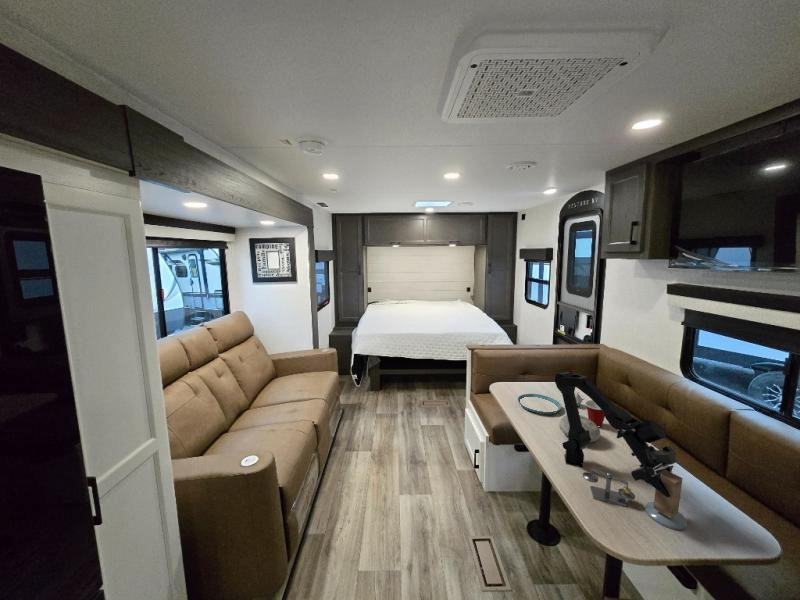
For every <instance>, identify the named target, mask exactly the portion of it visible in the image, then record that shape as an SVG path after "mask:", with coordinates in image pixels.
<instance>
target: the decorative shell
mask: <svg viewBox="0 0 800 600" xmlns="http://www.w3.org/2000/svg"><path fill="white" fill-rule="evenodd" d="M579 415H580V414H579ZM580 419H581V423H582V427H583V428H584V429H585V430H588V431H589V433H590V438H591V441H590V442H591V443H593V442H596V441H598V440H599V439H600V437H601V429H600V428H599V427H598V426H597V425H596V424H595V423H594V422H592V421H591V420H589V418H588V417H586V416H584V415H582V414H581V415H580ZM558 427H559V429H560V431H561V432H562V433H563V434H565V436H567V437H568V432H569V428H570V426H569V422H568V417H567V414H565V415H564V416H562V418H560V421H559V425H558Z"/></svg>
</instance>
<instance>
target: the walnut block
mask: <svg viewBox="0 0 800 600" xmlns="http://www.w3.org/2000/svg"><path fill="white" fill-rule="evenodd" d="M659 473H660V480H661V481H662V483H663V485H664V486H665V488H666V489H667V491H668V493H669V495H670V497H666V496H665V495H663V494H662V493H661V492H659V491H658V490H657V489H655V488H654V489H655V491H654V498H653V499H654V500H653V502H654V506H653V508H654V509H656V510H657V511H659V512H661V513H662V514H664V515H666V516H667V517H669V518H672V517H673V516H675V515H676V514H678V512H679V510H680V509H679V508H680V503H681V502H680V500H681V493H682V484H683V480H684V478H683V477H681V476H679V475H677V474H675V473H673V472H672V473H671V472H669V471H667V470H665V469H664V470H663V471H661V472H659ZM659 473H658V474H659Z"/></svg>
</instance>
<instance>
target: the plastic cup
mask: <svg viewBox="0 0 800 600" xmlns="http://www.w3.org/2000/svg"><path fill="white" fill-rule="evenodd" d="M584 405H585V407H586V409H587V411H586V412H587V418H588V419H589V420H591V421H592V422H594V423H595V424H596V425H597V426H602V427H603V424H604V420H605V419H606V418H605V415H604V412H603V411H602V410H601V409H600V407H599V406H598V405H597V404H596V403H595V402H594V401H593V400H592V399H590V400H586V401H584Z"/></svg>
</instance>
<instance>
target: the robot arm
mask: <svg viewBox="0 0 800 600" xmlns="http://www.w3.org/2000/svg"><path fill="white" fill-rule="evenodd" d="M553 379H554V383H555V386H556V388H557V389H558V390H559V392H560V393H561V395H562V400H563V403H564V409H565V413H566V415H567V417H568V422H569V426H570V428H569V432H568V436H567V439H568V440H567V441H564V442H562V443H561V444H562V448H563V449H564V450H565V453H564V461H565V464H567V465H569V466H570V465H571V466H575V467H580V468H583V467H584V462H585V461H584V460H585V453H584V451H583V450H584V449H586V448H587V447H589V446H590V445H591V443H592V442H590V441H591V438H590V433H589V431H588V430H585V429H584V428H583V427H582V423H581V419H580V412H579V406H577V402H576V398H575V394H574V393H575V390H576V387H579V388H580V389H581V390H583V392H584V393H585V394H586V395H587V396H588V397H589V398H590V400H593V401H594V402H595V403H596V404H597V405H598V406H599V407H600V409H601V410H602V411H603V412H604V415H605V418H604V419H605V420H606V421H607V422H608V424H609V425H610V426H611V428H613V429H614V430H617V434H616V439H621V438H623V440H624V441H625V442H626V444H627V446H628V447H629V449H630V450H631V454H630V455H631V456H632V457H636V459H637V460H638V462H639V463H640V464H639V465H638V466H639V467H637V468H636V469H633V470H631V474H630V476H632V478H633V480H634V481H640V480H641V481H642V482H643V481H644V482H645V483H646V484H648V485H650V486H651V487H653V488H654V489H657V490H658V491H659V492H661V493H662V494H663V495H665V496H666V497H670V495H669V493H668V491H667V489H666V488H665V486H664V485H663V483H662V481H661V480H660V473H659V472H661V471H663V470H664V469H665V470H667V471H669V472H671V473H673V472H672V470H673V468H674V464H676V463H677V462H678V460H677V459H676V456H677V452H675V451H674V449H673V448H672V447H671V446H667V445H665V446H663V447H662V449H656V448H655V447H654V446H653V445H650V446H649V444H651V443H654V442H657V441H660V440H665V439H666V438H667V434H666V433H667V432H666V431H665V429H664V428H663V426H662V425H660V424H659V423H658V422H656V421H654V420H653V419H652V418H648V419H645V420H644V421H641V420H639V419H637V418H636V417H633V416H632V415H631V414H630V413H629V412H628V411H626V410H625V409H623V408H622V407H620V406H618V405H616V404H615V403H613V402H612V400H610V399H609V398H608V396H606V395H605V394H604V393H603V392H602V391H601V390H600V389H599V387H598V386H597V385H595V384H594V382H593V381H591V378H590V377H588V376H586V375H581V374H577V373H576V374H575V373H572V372H570V371H565V372H560V373H556V374H555V376H554V377H553ZM658 473H659V474H658Z"/></svg>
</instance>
